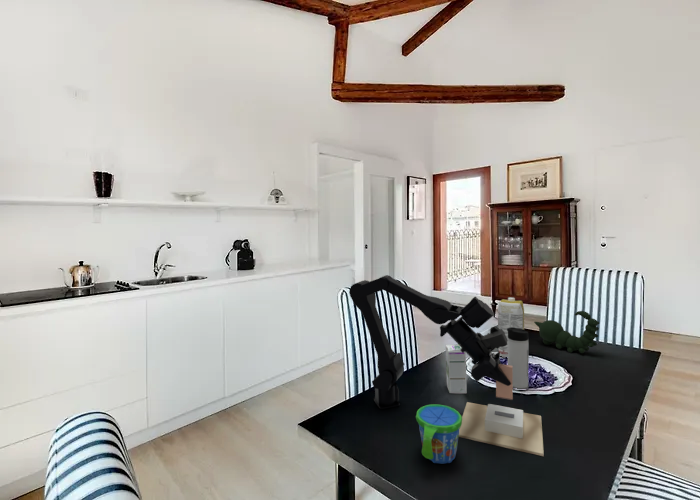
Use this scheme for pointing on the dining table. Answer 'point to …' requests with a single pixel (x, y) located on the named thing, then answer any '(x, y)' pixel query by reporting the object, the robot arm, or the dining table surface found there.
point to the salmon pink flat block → (503, 389)
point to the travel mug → (518, 356)
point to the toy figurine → (556, 333)
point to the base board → (476, 431)
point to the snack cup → (439, 432)
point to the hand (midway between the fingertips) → (509, 383)
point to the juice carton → (509, 319)
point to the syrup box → (456, 369)
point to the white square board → (504, 420)
